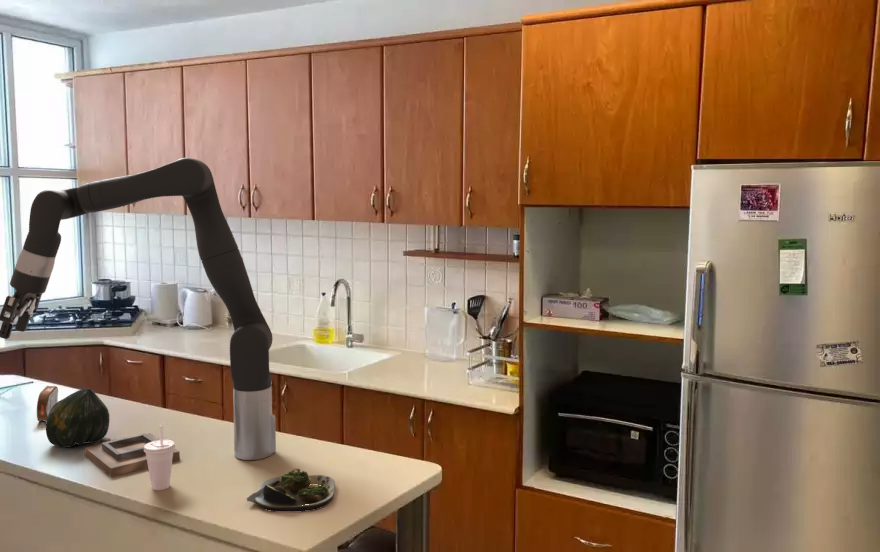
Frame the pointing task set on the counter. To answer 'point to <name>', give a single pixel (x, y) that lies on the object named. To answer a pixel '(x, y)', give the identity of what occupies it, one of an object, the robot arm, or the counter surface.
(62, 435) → the squash
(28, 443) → the counter surface
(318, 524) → the counter surface
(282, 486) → the salad plate
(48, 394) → the tin
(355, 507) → the counter surface
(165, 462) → the smoothie
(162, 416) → the counter surface
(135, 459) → the base board
